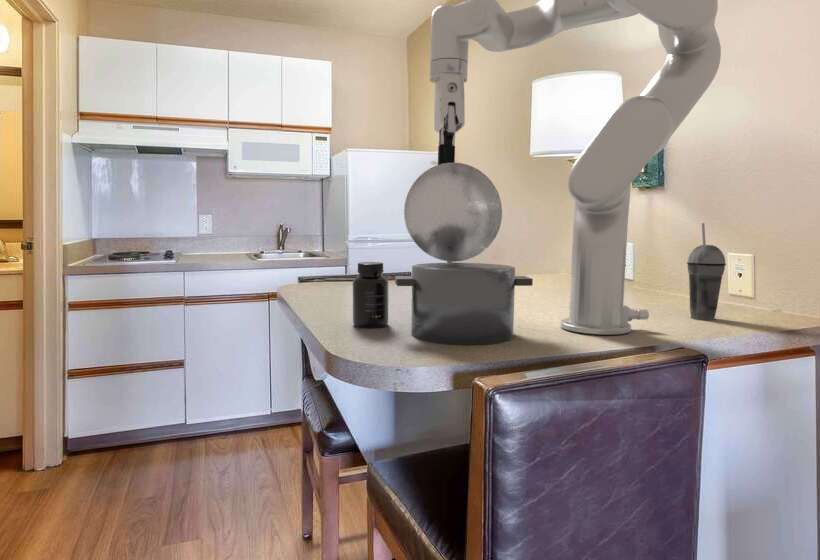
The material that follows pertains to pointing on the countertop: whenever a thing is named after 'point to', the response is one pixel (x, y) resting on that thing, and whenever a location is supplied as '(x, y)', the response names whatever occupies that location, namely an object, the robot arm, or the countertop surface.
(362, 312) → the supplement bottle
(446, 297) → the cooker pot
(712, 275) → the beverage cup
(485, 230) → the lid
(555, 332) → the countertop surface
